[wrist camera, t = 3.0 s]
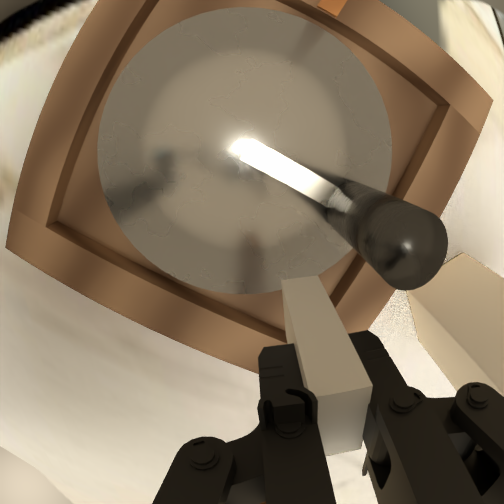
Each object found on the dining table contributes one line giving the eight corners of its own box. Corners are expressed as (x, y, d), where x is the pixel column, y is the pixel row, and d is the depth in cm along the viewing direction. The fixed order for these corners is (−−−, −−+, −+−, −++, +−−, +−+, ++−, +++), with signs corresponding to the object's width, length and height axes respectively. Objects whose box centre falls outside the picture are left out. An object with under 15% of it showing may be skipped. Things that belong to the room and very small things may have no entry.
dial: (70, 214, 17) (-14, 261, 10) (188, -20, 13) (160, -101, 5) (297, 323, 20) (324, 417, 13) (423, 108, 16) (517, 101, 8)
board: (28, 234, 19) (3, 248, 16) (173, -61, 13) (165, -84, 10) (309, 367, 24) (316, 395, 21) (467, 101, 17) (495, 100, 14)
